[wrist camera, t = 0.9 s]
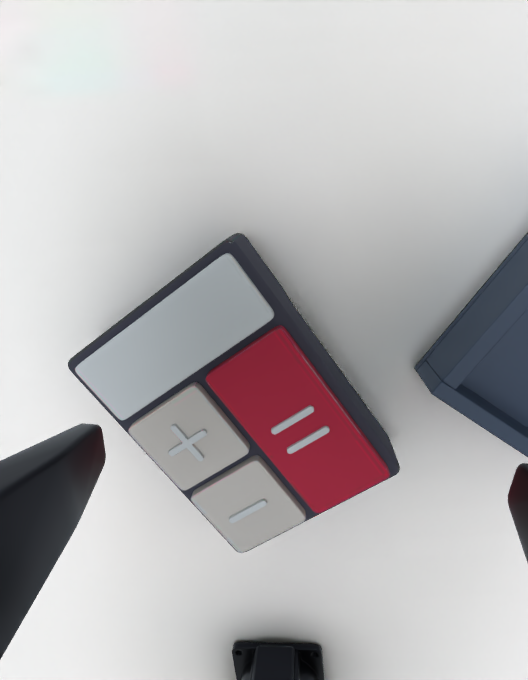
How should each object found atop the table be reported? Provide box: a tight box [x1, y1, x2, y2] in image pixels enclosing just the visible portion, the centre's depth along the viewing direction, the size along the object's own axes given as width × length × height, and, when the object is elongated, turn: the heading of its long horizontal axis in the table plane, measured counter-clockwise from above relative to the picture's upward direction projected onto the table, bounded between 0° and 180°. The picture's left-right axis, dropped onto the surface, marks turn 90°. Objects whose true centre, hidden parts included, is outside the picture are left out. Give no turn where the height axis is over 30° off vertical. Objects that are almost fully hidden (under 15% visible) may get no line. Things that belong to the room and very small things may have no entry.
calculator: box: [68, 233, 400, 553], centre depth 23 cm, size 11×4×15 cm
